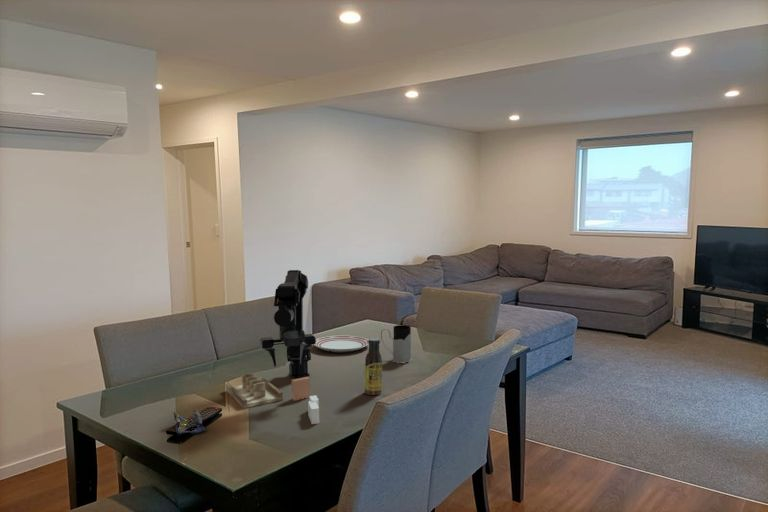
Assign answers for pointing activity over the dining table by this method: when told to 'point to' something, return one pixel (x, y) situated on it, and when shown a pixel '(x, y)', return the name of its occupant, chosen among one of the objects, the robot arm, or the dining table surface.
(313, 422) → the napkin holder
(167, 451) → the dining table surface
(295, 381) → the pink clay brick
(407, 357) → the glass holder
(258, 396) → the dish rack
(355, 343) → the dinner plate
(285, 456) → the dining table surface
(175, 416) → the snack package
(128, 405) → the dining table surface
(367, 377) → the sauce bottle
